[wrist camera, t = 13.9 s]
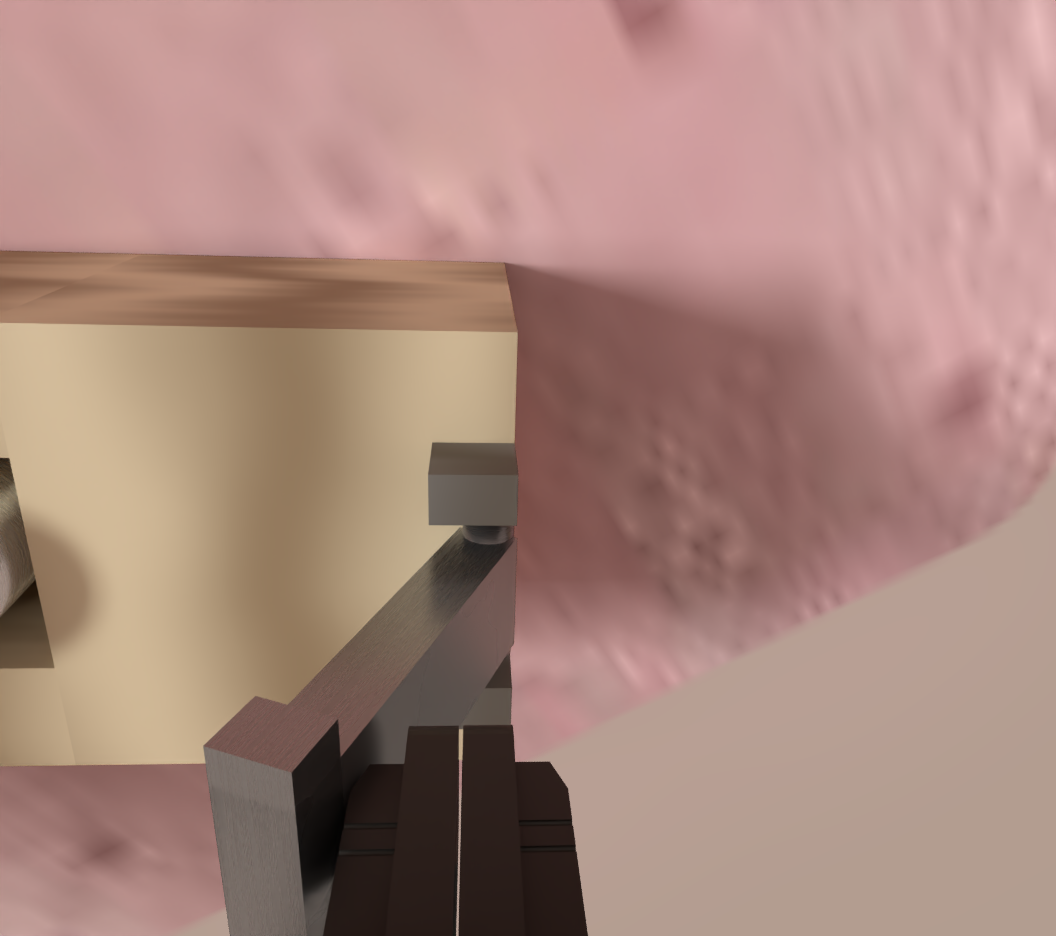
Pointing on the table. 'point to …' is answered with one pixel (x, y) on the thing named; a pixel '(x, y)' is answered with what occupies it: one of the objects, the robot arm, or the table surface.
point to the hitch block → (232, 479)
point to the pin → (12, 542)
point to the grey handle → (352, 730)
